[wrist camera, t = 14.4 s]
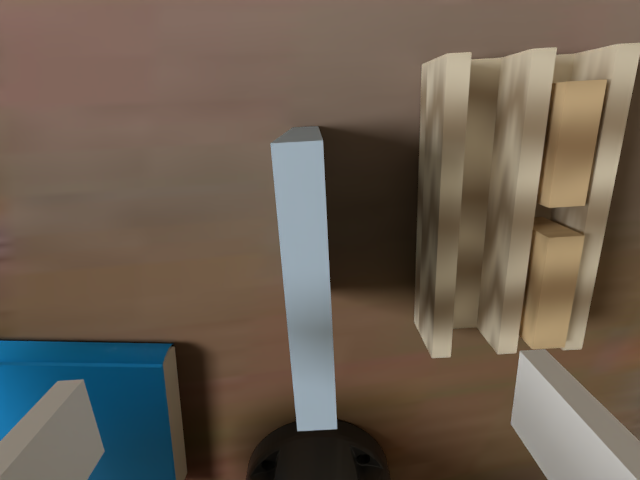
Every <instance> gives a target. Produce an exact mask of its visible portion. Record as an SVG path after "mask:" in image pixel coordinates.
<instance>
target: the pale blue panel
mask: <svg viewBox="0 0 640 480" xmlns="http://www.w3.org/2000/svg"><path fill="white" fill-rule="evenodd" d="M271 153H272V164H273V175H274V185H275V196H276V207H277V218H278V228H279V239H280V250H281V261H282V272H283V282H284V293H285V304H286V315H287V325H288V336H289V347H290V358H291V369H292V379H293V390H294V401H295V412H296V422H297V431H313V430H331V429H337V413H336V393H335V373H334V352H333V332H332V312H331V292H330V271H329V251H328V231H327V211H326V190H325V170H324V150H323V139H322V136H321V133H320V130H319V127H318V126H311V127H293V128H291V129H290V130H288V131H287V132H286V133H284V134H283V135H282V136H280V137H279V138H277V139H276V140H275V141H273V142H272V143H271Z"/></svg>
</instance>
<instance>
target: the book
mask: <svg viewBox="0 0 640 480" xmlns="http://www.w3.org/2000/svg"><path fill="white" fill-rule="evenodd" d="M171 345H172V344H166V343H107V342H49V341H0V441H1V440H2V439H3V438H4V437H5V436H6V435H7V434H8V433H9V432H10V430H11V429H12V428H13V427H14V426H15V425H16V424H17V423H18V422H19V421H20V420H21V419H22V418H23V417H24V416H25V415H26V414H27V413H28V412H29V411H30V409H31V408H32V407H33V406H34V405H35V404H36V403H37V402H38V401H39V400H40V399H41V398H42V397H43V396H44V395H45V394H46V393H47V392H48V391H49V390H50V388H51V387H52V386H53V385H54V384H55V383H56V382H57V381H65V380H81V379H84V383H85V386H86V390H87V393H88V396H89V400H90V403H91V407H92V410H93V413H94V417H95V420H96V423H97V427H98V430H99V434H100V437H101V440H102V444H103V447H104V451H105V452H104V453H103V455H102V456H101V458H100V460H99V461H98V463H97V465H96V466H95V468H94V470H93V471H92V473H91V475H90V476H89V478H88V479H87V480H185V477H186V475H187V465H186V455H185V445H184V435H183V425H182V415H181V405H180V395H179V385H178V375H177V364H176V354H175V347H172V346H171Z"/></svg>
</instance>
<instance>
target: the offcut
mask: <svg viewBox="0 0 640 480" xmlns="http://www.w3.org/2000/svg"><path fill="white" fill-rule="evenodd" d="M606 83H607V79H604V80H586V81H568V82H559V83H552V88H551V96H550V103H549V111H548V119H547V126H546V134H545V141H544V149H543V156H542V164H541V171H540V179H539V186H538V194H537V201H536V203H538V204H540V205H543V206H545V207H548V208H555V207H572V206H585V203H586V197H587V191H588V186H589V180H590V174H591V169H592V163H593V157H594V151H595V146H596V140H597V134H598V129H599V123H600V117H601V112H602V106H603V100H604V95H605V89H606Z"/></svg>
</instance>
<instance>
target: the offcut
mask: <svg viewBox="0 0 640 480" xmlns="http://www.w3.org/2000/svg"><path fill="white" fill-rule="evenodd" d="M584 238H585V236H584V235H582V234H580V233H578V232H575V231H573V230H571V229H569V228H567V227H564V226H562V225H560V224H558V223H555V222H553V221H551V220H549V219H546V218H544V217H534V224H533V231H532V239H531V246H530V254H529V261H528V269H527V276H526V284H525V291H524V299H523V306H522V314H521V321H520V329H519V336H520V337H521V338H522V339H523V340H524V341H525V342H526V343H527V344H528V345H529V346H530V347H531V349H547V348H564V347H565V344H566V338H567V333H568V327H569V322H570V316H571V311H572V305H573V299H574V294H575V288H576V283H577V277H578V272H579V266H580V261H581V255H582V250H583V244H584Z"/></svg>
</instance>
